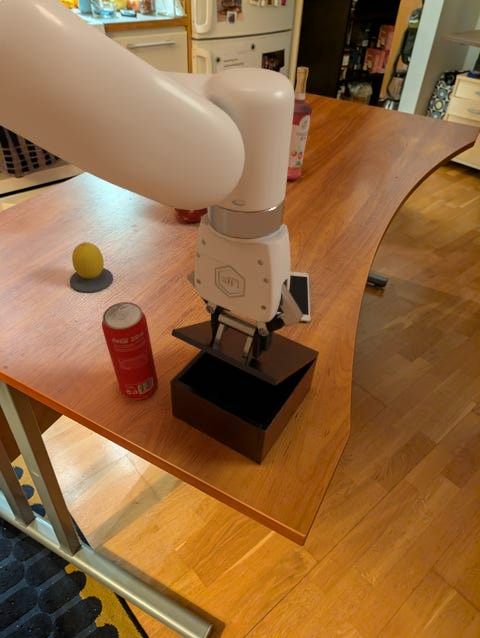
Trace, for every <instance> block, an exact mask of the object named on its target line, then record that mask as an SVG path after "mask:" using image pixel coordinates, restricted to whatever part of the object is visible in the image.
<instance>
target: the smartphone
mask: <svg viewBox="0 0 480 638" xmlns="http://www.w3.org/2000/svg"><path fill="white" fill-rule="evenodd" d="M289 292H290V294H291V295H292V297H293V299H294V300H295V302H296V304H297V305H298V307H299V309H300V310H301V312H302V314H303V317H302V318H301V320H300V321H299V322H305V323H308V322H310V321H311V320H312V319H311V299H310V297H311V295H310V275H309V273H308V272H300V271H290V287H289ZM281 312H283V311H282V309H281V307H280V306H279V307H278V310H277V314H279V313H281Z"/></svg>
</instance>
